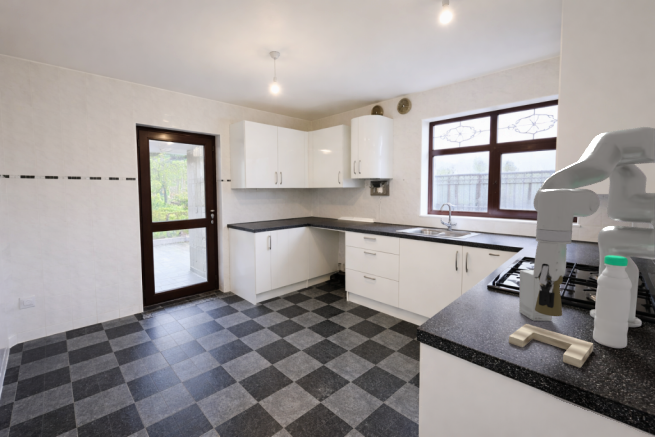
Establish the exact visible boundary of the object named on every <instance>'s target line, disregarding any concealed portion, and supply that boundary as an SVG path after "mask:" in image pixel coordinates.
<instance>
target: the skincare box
mask: <svg viewBox="0 0 655 437" xmlns="http://www.w3.org/2000/svg"><path fill="white" fill-rule="evenodd" d="M533 272H534V269H523V270H522V269H521V270H519V300H518V301H519V304H518V305H519V307H518V308H519V309H518V310H519V311H518V312H519V313H520V314H521V315H523V316H525V317H527V318H528V319H530V320H531V321H532V322H533V321H535V322H538V321H539V322H551V321H553V316H549V315H544V314H541V313H538V312H537V311H535V306H536V302H537V297H538V293H539V288H540V284H539V278H537V279H536V278H534V277H533Z"/></svg>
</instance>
